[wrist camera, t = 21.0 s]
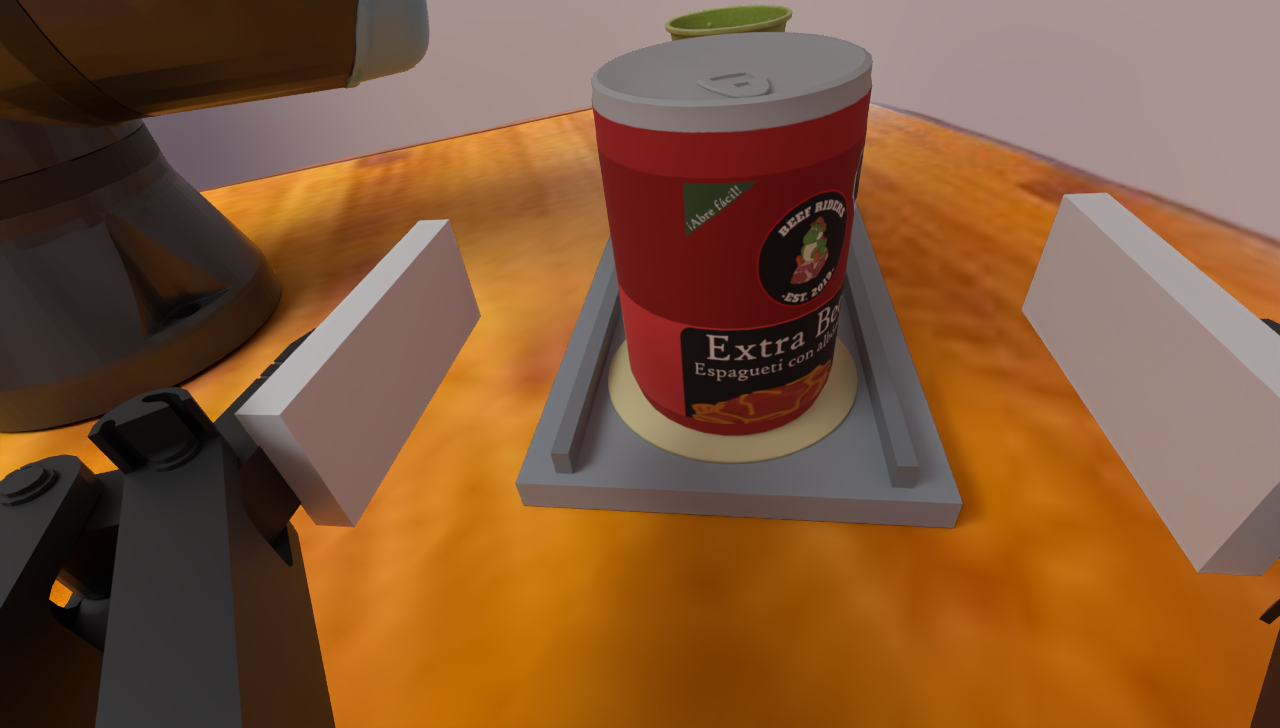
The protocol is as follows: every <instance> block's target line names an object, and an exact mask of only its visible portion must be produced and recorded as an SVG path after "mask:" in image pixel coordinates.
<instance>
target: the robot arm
mask: <svg viewBox="0 0 1280 728" xmlns="http://www.w3.org/2000/svg"><path fill="white" fill-rule="evenodd" d="M428 44H429V21H428V10H427V3H426V0H0V432H17V431H29V430H38V429H44V428H50V427H55V426H60V425H65V424H69V423H73V422H77V421H81V420H85V419H88V418H92V417H95V416H98V415H102V414H105V413H106V414H105V415H104V416H103V417H102V418H101V419H100V420H99V421H98V422H97V423H96V424H95V425H94V426H93V427H92V429H91V431H90V433H89V435H88V438H89V439H90V440H91V441H92V442H93V443H94V444H95V445H96V446H97V447H98V448H99V449H100V450H101V451H102V452H103V453H104V454H105V455H106V456H107V457H108V458H109V459H110V460H111V461H112V462H113V463H114V464H115V465H116V466H117V467H118V468H119V469H118V470H114V471H109V472H105V473H100V474H94V473H93V472H92V471H91V470H90V469H89V468H88V467H87V466H86V465H85V464H84V463H83V462H82V461H81V460H80V459H79V458H78V457H77V456H71V455H59V456H53V457H48V458H45V459H42V460H40V461H37V462H34V463H29V464H27V465H25V466H23V467H20V470H18V469H17V470H15V471H13V472H11V473H10V474H8V475H7V476H6V477H5V478H4V479H3V480H2V481H0V728H335V723H334V718H333V713H332V707H331V702H330V697H329V692H328V687H327V682H326V676H325V671H324V666H323V661H322V656H321V651H320V645H319V640H318V635H317V630H316V625H315V620H314V614H313V609H312V604H311V599H310V594H309V589H308V584H307V578H306V573H305V568H304V563H303V558H302V553H301V547H300V542H299V537H298V533H297V531H296V530H295V528H294V526H293V525H292V524H291V522H290V521H289V520H290V519H291V517H292V516H293V514H294V513H295V511H296V510H297V509H298V507H299V506H300V504H301V505H302V507H303V508H304V509H305V511H306V512H307V513H308V515H309V516H310V517H311V519H312V520H313V521H314V523H315V524H316V525H326V526H344V527H355V526H356V524H357V522H358V521H359V519H360V517H361V516H362V514H363V512H364V511H365V509H366V507H367V506H368V504H369V502H370V501H371V499H372V497H373V495H374V494H375V492H376V490H377V489H378V487H379V485H380V484H381V482H382V480H383V479H384V477H385V475H386V474H387V472H388V470H389V469H390V467H391V465H392V464H393V462H394V460H395V459H396V457H397V455H398V454H399V452H400V450H401V449H402V447H403V445H404V444H405V442H406V440H407V439H408V437H409V435H410V434H411V432H412V430H413V429H414V427H415V425H416V424H417V422H418V420H419V419H420V417H421V415H422V414H423V412H424V410H425V409H426V407H427V405H428V404H429V402H430V400H431V399H432V397H433V395H434V394H435V392H436V390H437V389H438V387H439V385H440V384H441V382H442V380H443V379H444V377H445V375H446V374H447V372H448V370H449V369H450V367H451V365H452V363H453V362H454V360H455V358H456V357H457V355H458V353H459V352H460V350H461V348H462V347H463V345H464V343H465V342H466V340H467V338H468V337H469V335H470V333H471V332H472V330H473V328H474V327H475V325H476V323H477V322H478V320H479V318H480V317H481V315H480V312H479V309H478V306H477V303H476V299H475V296H474V293H473V290H472V287H471V284H470V281H469V278H468V275H467V272H466V269H465V266H464V263H463V260H462V257H461V254H460V251H459V247H458V244H457V241H456V238H455V235H454V232H453V229H452V226H451V223H450V220H449V219H445V220H420V221H418V222H417V223H416V225H415V226H414V227H413V228H412V229H411V230H410V231H409V232H408V233H407V234H406V235H405V236H404V237H403V238H402V239H401V240H400V241H399V242H398V243H397V244H396V245H395V247H394V248H393V249H392V250H391V251H390V252H389V253H388V254H387V255H386V256H385V257H384V258H383V259H382V260H381V261H380V262H379V263H378V264H377V265H376V266H375V267H374V269H373V270H372V271H371V272H370V273H369V274H368V275H367V276H366V277H365V278H364V279H363V280H362V281H361V282H360V283H359V284H358V285H357V286H356V287H355V288H354V289H353V291H352V292H351V293H350V294H349V295H348V296H347V297H346V298H345V299H344V300H343V301H342V302H341V303H340V304H339V305H338V306H337V307H336V308H335V309H334V310H333V311H332V313H331V314H330V315H329V316H328V317H327V318H326V319H325V320H324V321H323V322H322V323H321V324H320V325H319V326H318V327H317V328H315V329H313V330H312V331H310V332H308V333H307V334H305V335H304V336H302V337H301V338H299V339H297V340H296V341H294V342H293V343H291V344H290V345H289V346H288V347H287V348H286V349H285V350H284V351H283V352H282V353H281V354H280V355H279V356H278V357H277V358H276V360H275V361H274V362H275V363H274V364H271V365H270V366H269V367H268V368H267V369H266V370H265V371H264V372H263V373H262V374H261V378H260V379H256V380H255V381H254V382H253V383H252V384H251V385H250V386H249V387H248V388H247V389H246V390H245V391H244V392H243V393H242V394H241V395H240V396H239V397H238V398H237V399H236V400H235V401H234V402H233V403H232V404H231V406H230V407H229V408H228V409H227V410H226V411H225V412H224V413H223V414H222V415H221V416H220V417H219V418H218V419H217V420H216V421H215V422H214V423H212V421H211V420H210V419H209V417H208V416H207V415H206V414H205V412H204V411H203V410H202V408H201V407H200V406H199V405H198V403H197V402H196V401H195V399H194V398H193V397H192V396H191V394H190V393H189V392H188V391H187V390H185V389H181V388H178V387H172V386H174V385H176V384H178V383H180V382H182V381H184V380H186V379H188V378H190V377H191V376H193V375H195V374H197V373H199V372H200V371H202V370H204V369H205V368H207V367H209V366H210V365H212V364H214V363H215V362H217V361H218V360H220V359H222V358H223V357H224V356H226V355H227V354H229V353H230V352H232V351H233V350H234V349H236V348H237V347H238V346H240V345H241V344H242V343H244V342H245V341H246V340H247V339H248V338H250V337H251V336H252V335H253V334H254V333H255V332H256V331H257V330H258V329H259V328H260V327H261V326H262V325H263V324H264V323H265V322H266V321H267V320H268V318H269V317H270V316H271V314H272V313H273V311H274V310H275V308H276V306H277V304H278V302H279V299H280V295H281V286H280V283H279V281H278V279H277V278H276V276H275V274H274V272H273V271H272V269H271V267H270V265H269V263H268V262H267V260H266V258H265V256H264V255H263V253H262V252H261V251H260V249H259V248H258V247H257V246H256V245H255V244H254V243H253V242H252V241H251V240H250V239H249V238H248V237H247V236H246V235H244V234H243V233H242V232H241V231H240V230H239V229H238V228H237V227H236V226H235V225H234V224H233V223H231V222H230V221H229V220H228V219H227V218H226V217H225V216H224V215H223V214H222V213H221V212H220V211H219V210H217V209H216V208H215V207H214V206H213V205H212V204H211V203H210V202H209V201H208V200H207V199H206V198H204V197H203V196H202V195H201V194H200V193H199V192H198V191H197V190H196V189H194V187H193V186H191V185H190V184H189V183H188V182H187V181H186V180H185V179H184V178H183V177H182V176H180V174H179V173H177V172H176V171H175V170H174V169H173V167H172V166H171V165H170V164H169V162H168V161H167V159H166V158H165V156H164V155H163V153H162V152H161V150H160V149H159V147H158V145H157V144H156V142H155V140H154V139H153V137H152V135H151V134H150V133H149V131H148V129H147V127H146V126H145V124H144V123H143V121H142V119H141V118H147V117H155V116H160V115H165V114H172V113H179V112H185V111H192V110H198V109H205V108H211V107H218V106H224V105H231V104H238V103H244V102H251V101H258V100H264V99H271V98H278V97H284V96H291V95H298V94H304V93H311V92H317V91H324V90H331V89H337V88H353V87H356V86H358V85H359V84H360V82H363V81H367V80H371V79H376V78H379V77H384V76H388V75H392V74H396V73H400V72H405V71H408V70H409V69H411V68H413V67H414V66H415V65H416V64H418V62H420V61H421V60H422V58H423V57H424V55H425V53H426V51H427V48H428ZM1022 312H1023V313H1024V315H1025V316H1026V318H1027V319H1028V321H1029V322H1030V324H1031V325H1032V327H1033V328H1034V330H1035V331H1036V332H1037V334H1038V335H1039V337H1040V338H1041V340H1042V341H1043V343H1044V344H1045V346H1046V347H1047V349H1048V350H1049V352H1050V353H1051V355H1052V356H1053V358H1054V359H1055V361H1056V362H1057V364H1058V365H1059V367H1060V368H1061V370H1062V371H1063V373H1064V374H1065V376H1066V377H1067V379H1068V380H1069V382H1070V383H1071V385H1072V386H1073V388H1074V389H1075V391H1076V392H1077V394H1078V395H1079V397H1080V398H1081V400H1082V401H1083V403H1084V404H1085V406H1086V407H1087V409H1088V410H1089V412H1090V413H1091V414H1092V416H1093V417H1094V419H1095V420H1096V422H1097V423H1098V425H1099V426H1100V428H1101V429H1102V431H1103V432H1104V434H1105V435H1106V437H1107V438H1108V440H1109V441H1110V443H1111V444H1112V446H1113V447H1114V449H1115V450H1116V452H1117V453H1118V455H1119V456H1120V458H1121V459H1122V461H1123V462H1124V464H1125V465H1126V467H1127V468H1128V470H1129V471H1130V473H1131V474H1132V476H1133V477H1134V479H1135V480H1136V482H1137V483H1138V485H1139V486H1140V488H1141V489H1142V491H1143V492H1144V494H1145V495H1146V496H1147V498H1148V499H1149V501H1150V502H1151V504H1152V505H1153V507H1154V508H1155V510H1156V511H1157V513H1158V514H1159V516H1160V517H1161V519H1162V520H1163V522H1164V523H1165V525H1166V526H1167V528H1168V529H1169V531H1170V532H1171V534H1172V535H1173V537H1174V538H1175V540H1176V541H1177V543H1178V544H1179V546H1180V547H1181V549H1182V550H1183V552H1184V553H1185V555H1186V556H1187V558H1188V559H1189V561H1190V562H1191V564H1192V565H1193V567H1194V568H1195V570H1196V571H1197V573H1215V574H1233V575H1252V576H1261V575H1262V574H1263V573H1264V572H1265V571H1266V570H1267V569H1268V568H1269V567H1270V566H1271V565H1272V564H1273V563H1274V562H1275V561H1276V560H1277V559H1278V558H1280V324H1278V323H1276V322H1274V321H1272V320H1270V319H1259V318H1258V317H1257V316H1255V315H1254V314H1253V313H1252V312H1250V311H1249V310H1248V309H1247V308H1246V307H1244V306H1243V305H1242V304H1241V303H1240V302H1238V301H1237V300H1236V299H1235V298H1234V297H1232V296H1231V295H1230V294H1229V293H1228V292H1226V291H1225V290H1224V289H1223V288H1221V287H1220V286H1219V285H1218V284H1217V283H1215V282H1214V281H1213V280H1212V279H1211V278H1209V277H1208V276H1207V275H1206V274H1205V273H1203V272H1202V271H1201V270H1200V269H1199V268H1197V267H1196V266H1195V265H1194V264H1193V263H1191V262H1190V261H1189V260H1188V259H1186V258H1185V257H1184V256H1183V255H1182V254H1180V253H1179V252H1178V251H1177V250H1176V249H1174V248H1173V247H1172V246H1171V245H1170V244H1168V243H1167V242H1166V241H1165V240H1164V239H1162V238H1161V237H1160V236H1159V235H1157V234H1156V233H1155V232H1154V231H1153V230H1151V229H1150V228H1149V227H1148V226H1147V225H1145V224H1144V223H1143V222H1142V221H1141V220H1139V219H1138V218H1137V217H1136V216H1135V215H1133V214H1132V213H1131V212H1130V211H1128V210H1127V209H1126V208H1125V207H1124V206H1122V205H1121V204H1120V203H1119V202H1118V201H1116V200H1115V199H1114V198H1113V197H1112V196H1110V195H1109V194H1108V193H1087V194H1064V196H1063V198H1062V201H1061V204H1060V207H1059V209H1058V212H1057V215H1056V217H1055V220H1054V223H1053V226H1052V228H1051V231H1050V234H1049V236H1048V239H1047V242H1046V245H1045V247H1044V250H1043V253H1042V255H1041V258H1040V261H1039V264H1038V266H1037V269H1036V272H1035V274H1034V277H1033V280H1032V283H1031V285H1030V288H1029V291H1028V293H1027V296H1026V299H1025V302H1024V304H1023V307H1022ZM170 387H171V388H170ZM55 580H57V581H59V582H60V583H61V584H63V585H64V586H65V587H67V588H68V589H69V590H71V591H72V592H73V593H72V595H71V597H70V599H69V601H68V603H67V604H66V606H65V607H64V608H63V607H60V606H58V605H56V604H55V603H53V602H52V601H51V600H49V597H50V593H51V589H52V586H53V584H54V582H55ZM1279 616H1280V599H1278V600H1277V601H1276V602H1275V603H1274V604H1273V605H1272V606H1271V607H1270V608H1268V609H1267V610H1266V611H1265V613H1264V614H1263V615H1262V616H1261V617H1260V618H1259V619H1260V620H1262V621H1264V622H1266V623H1268V624H1271V623H1272V622H1273V621H1274V620H1275V619H1276V618H1277V617H1279ZM1250 728H1280V629H1279V633H1278V636H1277V639H1276V643H1275V646H1274V649H1273V653H1272V656H1271V659H1270V663H1269V666H1268V669H1267V673H1266V676H1265V679H1264V683H1263V686H1262V689H1261V693H1260V696H1259V699H1258V703H1257V706H1256V709H1255V713H1254V716H1253V719H1252V723H1251V726H1250Z"/></svg>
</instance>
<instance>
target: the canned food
mask: <svg viewBox="0 0 1280 728" xmlns="http://www.w3.org/2000/svg"><path fill="white" fill-rule="evenodd" d="M872 63H873V61H872V57H871V54H870V53H868V52H867V51H866V50H865V49H864V48H862V47H860V46H857V45H855V44H853V43H851V42H848V41H845V40H841V39H838V38H833V37H828V36H822V35H816V34H805V33H787V32H750V33H732V34H721V35H711V36H703V37H695V38H688V39H682V40H677V41H671V42H666V43H662V44H657V45H653V46H649V47H645V48H642V49H639V50H636V51H632V52H629V53H627V54H624V55H622V56H619V57H617V58H615V59H613V60H611V61H610V62H608V63H606V64H605V65H603V66H602V67H601V68H600V69H598V70H597V71H596V72H595V73H594V75H593V77H592V79H591V83H592V89H593V93H592V106H593V113H594V120H595V127H596V138H597V146H598V152H599V159H600V166H601V173H602V179H603V186H604V193H605V200H606V206H607V213H608V220H609V227H610V233H611V240H612V247H613V254H614V260H615V267H616V274H617V281H618V287H619V294H620V301H621V308H622V314H623V321H624V328H625V335H626V341H627V348H628V355H629V361H630V366H631V372H632V374H633V376H634V378H635V380H636V382H637V383H638V385H639V387H640V389H641V391H642V393H643V394H644V396H645V398H646V399H647V400H648V401H649V403H650V404H651V405H652V406H653V407H654V408H655V409H656V410H657V411H658V412H660V413H661V414H662V415H664V416H665V417H667V418H668V419H670V420H672V421H674V422H676V423H678V424H680V425H682V426H684V427H687V428H690V429H694V430H697V431H700V432H704V433H711V434H718V435H748V434H755V433H761V432H766V431H769V430H772V429H775V428H778V427H781V426H784V425H786V424H787V423H789V422H791V421H793V420H795V419H797V418H798V417H800V416H801V415H802V414H803V413H804V412H806V411H807V410H808V409H809V408H810V407H811V406H812V405H813V403H814V402H815V400H816V399H817V397H818V396H819V394H820V393H821V391H822V389H823V388H824V386H825V384H826V383H827V381H828V378H829V375H830V372H831V369H832V364H833V357H834V350H835V344H836V337H837V330H838V323H839V316H840V309H841V302H842V295H843V289H844V282H845V275H846V268H847V261H848V254H849V247H850V241H851V234H852V227H853V220H854V213H855V206H856V199H857V193H858V186H859V179H860V172H861V165H862V158H863V151H864V145H865V138H866V131H867V118H868V110H869V103H870V96H871V89H872V81H871V70H872Z"/></svg>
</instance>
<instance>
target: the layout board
mask: <svg viewBox="0 0 1280 728" xmlns="http://www.w3.org/2000/svg"><path fill="white" fill-rule="evenodd" d="M516 486H517V489H518V491H519V494H520V497H521V500H522V502H523V505H526V506H544V507H563V508H582V509H601V510H620V511H639V512H658V513H677V514H696V515H715V516H734V517H753V518H772V519H791V520H810V521H829V522H848V523H867V524H886V525H905V526H924V527H943V528H954V525H955V523H956V520H957V518H958V515H959V513H960V510H961V508H962V505H963V502H962V500H961V497H960V494H959V491H958V488H957V485H956V483H955V480H954V477H953V474H952V471H951V468H950V466H949V463H948V460H947V457H946V454H945V451H944V449H943V446H942V443H941V440H940V437H939V434H938V432H937V429H936V426H935V423H934V420H933V417H932V415H931V412H930V409H929V406H928V403H927V400H926V398H925V395H924V392H923V389H922V386H921V383H920V381H919V378H918V375H917V372H916V369H915V366H914V364H913V361H912V358H911V355H910V352H909V349H908V347H907V344H906V341H905V338H904V335H903V332H902V330H901V327H900V324H899V321H898V318H897V316H896V313H895V310H894V307H893V304H892V301H891V299H890V296H889V293H888V290H887V287H886V284H885V282H884V279H883V276H882V273H881V270H880V267H879V265H878V262H877V259H876V256H875V253H874V250H873V248H872V245H871V242H870V239H869V236H868V233H867V231H866V228H865V225H864V222H863V219H862V216H861V214H860V211H859V208H858V205H857V202H856V206H855V213H854V220H853V227H852V234H851V241H850V247H849V254H848V261H847V268H846V275H845V282H844V289H843V295H842V302H841V309H840V316H839V323H838V330H837V337H836V344H835V350H834V357H833V364H832V369H831V372H830V375H829V378H828V381H827V383H826V384H825V386H824V388H823V389H822V391H821V393H820V394H819V396H818V397H817V399H816V400H815V402H814V403H813V405H812V406H811V407H810V408H809V409H808V410H807V411H806V412H804V413H803V414H802V415H801V416H800V417H798V418H797V419H795V420H793V421H791V422H789V423H787V424H786V425H784V426H781V427H778V428H775V429H772V430H769V431H766V432H761V433H755V434H748V435H718V434H711V433H704V432H700V431H697V430H694V429H690V428H687V427H684V426H682V425H680V424H678V423H676V422H674V421H672V420H670V419H668V418H667V417H665V416H664V415H662V414H661V413H660V412H658V411H657V410H656V409H655V408H654V407H653V406H652V405H651V404H650V403H649V401H648V400H647V399H646V398H645V396H644V394H643V393H642V391H641V389H640V387H639V385H638V383H637V382H636V380H635V378H634V376H633V374H632V372H631V366H630V361H629V355H628V348H627V341H626V335H625V328H624V321H623V314H622V308H621V301H620V294H619V287H618V281H617V274H616V267H615V260H614V254H613V247H612V240H611V234H610V237H609V240H608V242H607V245H606V247H605V250H604V253H603V255H602V258H601V261H600V263H599V266H598V268H597V271H596V274H595V276H594V279H593V282H592V284H591V287H590V289H589V292H588V295H587V297H586V300H585V303H584V305H583V308H582V310H581V313H580V316H579V318H578V321H577V324H576V326H575V329H574V331H573V334H572V337H571V339H570V342H569V344H568V347H567V350H566V352H565V355H564V358H563V360H562V363H561V365H560V368H559V371H558V373H557V376H556V379H555V381H554V384H553V386H552V389H551V392H550V394H549V397H548V400H547V402H546V405H545V407H544V410H543V413H542V415H541V418H540V421H539V423H538V426H537V428H536V431H535V434H534V436H533V439H532V441H531V444H530V447H529V449H528V452H527V455H526V457H525V460H524V462H523V465H522V468H521V470H520V473H519V476H518V478H517V481H516Z"/></svg>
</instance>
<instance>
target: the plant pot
mask: <svg viewBox="0 0 1280 728" xmlns="http://www.w3.org/2000/svg"><path fill="white" fill-rule="evenodd" d="M791 17H792V10H791V9H790V8H787V7H783V6H774V5H773V6H772V5H771V6H770V5H769V6H767V5H748V6H734V7H725V8H716V9H710V10H703V11H699V12H694V13H689V14H686V15H682V16H679V17H675V18H673V19H671V20H669V21H667V22H666V23H665V28H666V31H668V32H669V33H671V37H672V41H677V40H682V39H688V38H695V37H703V36H711V35H721V34H732V33H750V32H785V27H786V22H787V21H788V20H789V19H790V18H791Z"/></svg>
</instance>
